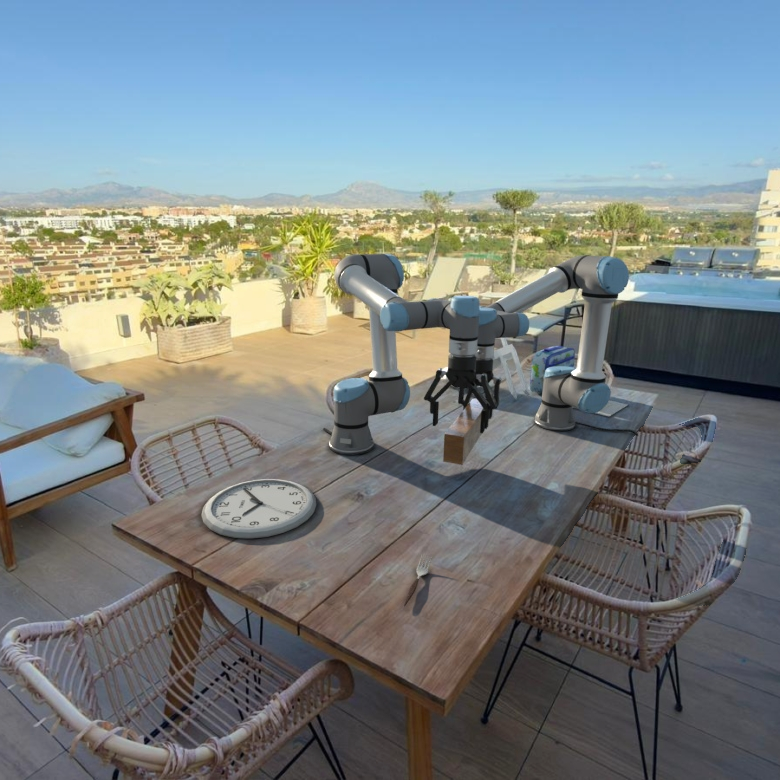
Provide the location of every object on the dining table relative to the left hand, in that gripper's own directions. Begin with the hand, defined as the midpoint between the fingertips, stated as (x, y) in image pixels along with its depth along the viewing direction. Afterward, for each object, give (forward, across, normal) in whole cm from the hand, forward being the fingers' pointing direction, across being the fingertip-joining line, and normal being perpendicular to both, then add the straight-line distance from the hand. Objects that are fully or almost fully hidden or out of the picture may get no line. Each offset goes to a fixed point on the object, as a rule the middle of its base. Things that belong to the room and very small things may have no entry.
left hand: (458, 428), depth 147 cm
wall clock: (+19, -46, -31) cm, 58 cm away
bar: (+9, 0, +13) cm, 16 cm away
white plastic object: (+19, -14, +96) cm, 99 cm away
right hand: (+8, 0, +26) cm, 27 cm away
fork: (+19, +4, -45) cm, 49 cm away
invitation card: (+19, +39, +98) cm, 107 cm away
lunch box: (+19, +16, +113) cm, 115 cm away
